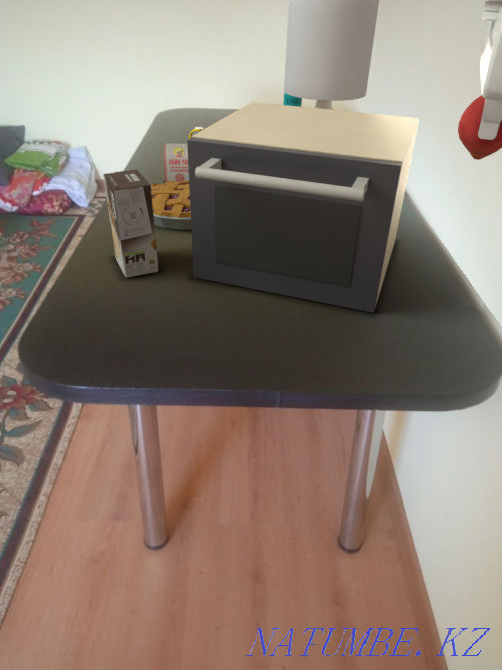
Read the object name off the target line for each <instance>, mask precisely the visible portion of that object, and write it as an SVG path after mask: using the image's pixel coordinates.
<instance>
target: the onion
mask: <svg viewBox="0 0 502 670" xmlns="http://www.w3.org/2000/svg"><path fill="white" fill-rule="evenodd" d="M485 100H486V99H485V98H483V96H482V94H481V95H480V96H478V97H477V98H475V99H474V100H473V101H472V102H471V103H469V105H468V106H467V107H466V108H465V110H464V111H463V113H462V114H461V116H460V119H459V121H458V126H457V134H458V138H459V140H460V142H461V144H462V146H464V148H465V149H466V150H467V152H468V153H469V155H470V156H471V157H472V158H473V160H477V161H480V160H482V159H485V158H487V157H489V156H491V155H493V154H495V153H497V152H499V151H500V150H501V149H502V120H501V122H500V125H499V128H498V132H497V135H496V137H495V138H494V139H492V140H488V139H480V138H479V137H478V130H479V126H480V122H481V119H482V115H483V110H484V105H485Z"/></svg>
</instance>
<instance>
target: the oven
mask: <svg viewBox="0 0 502 670" xmlns="http://www.w3.org/2000/svg"><path fill="white" fill-rule="evenodd" d="M419 123H420V118H419V117H411V116H410V117H409V116H400V115H390V114H379V113H368V112H359V111H348V110H339V109H334V110H328V109H318V108H314V107H307V106H301V107H297V106H287V105H283V104H275V103H266V102H254V101H252V102H250V103H248V104H246V105H244V106H243V107H241V108H240V109H237V110H236V111H234V112H232V113H230V114H229V115H227V116H225V117H223V118H221V119H220V120H218V121H216V122H214V123H212V124H211V125H209V126H208V127H205V128H204V130H202V131H197V133H195V134H192V138H200V139H208V140H216V141H225V142H233V143H241V144H250V145H258V146H266V147H275V148H283V149H291V150H300V151H308V152H316V153H325V154H333V155H342V156H350V157H358V158H367V159H375V160H383V161H392V162H400V163H403V164H402V169H401V174H400V179H399V185H398V190H397V195H396V200H395V206H394V211H393V216H392V222H391V227H390V232H389V237H388V243H387V248H386V253H385V258H384V264H383V269H382V274H381V279H380V285H379V290H378V295H377V301H376V306H375V308H376V307H377V305H378V304H377V303H378V299H379V296H380V293H381V290H382V287H383V283H384V281H385V276H386V272H387V270H388V266H389V263H390V260H391V256H392V254H393V253H392V252H393V249H394V245H395V244H396V243H395V242H396V239H397V233H398V229H399V224H400V218H401V214H402V209H403V203H404V198H405V195H406V188H407V183H408V178H409V173H410V168H411V164H412V158H413V153H414V149H415V148H414V147H415V143H416V137H417V132H418V128H419Z"/></svg>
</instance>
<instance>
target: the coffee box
mask: <svg viewBox="0 0 502 670" xmlns="http://www.w3.org/2000/svg"><path fill="white" fill-rule="evenodd" d="M102 177H103V183H104V190H105V195H106V203H107V210H108V211H107V212H108V216H109V222H110V229H111V237H112V243H113V250H114V256H115V260H116V261H117V264H118V266H119V268H120V270H121V272H122V273H123V276H124V277H125V278H132V277H133V278H134V277H137V276H142V275H148V274H154V273H157V272H159V260H158V259H159V258H158V249H157V238H156V228H155V227H156V225H154V215H153V204H152V194H151V186H152V184H150V182H149V181H148V180H147V179H146V178H145V177H144V175H143V174H142V173H141V172H140V171H139V170H138V169H132V170H131V169H129V170H120V171H114V172H109V173H103V174H102Z"/></svg>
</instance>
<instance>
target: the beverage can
mask: <svg viewBox="0 0 502 670" xmlns="http://www.w3.org/2000/svg"><path fill="white" fill-rule="evenodd" d="M302 103H303V98H299V97H295V96H291V95H288V94H286V93H285V92H284V94H283V104H282V105H287V106H297V107H302V105H303V104H302Z"/></svg>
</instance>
